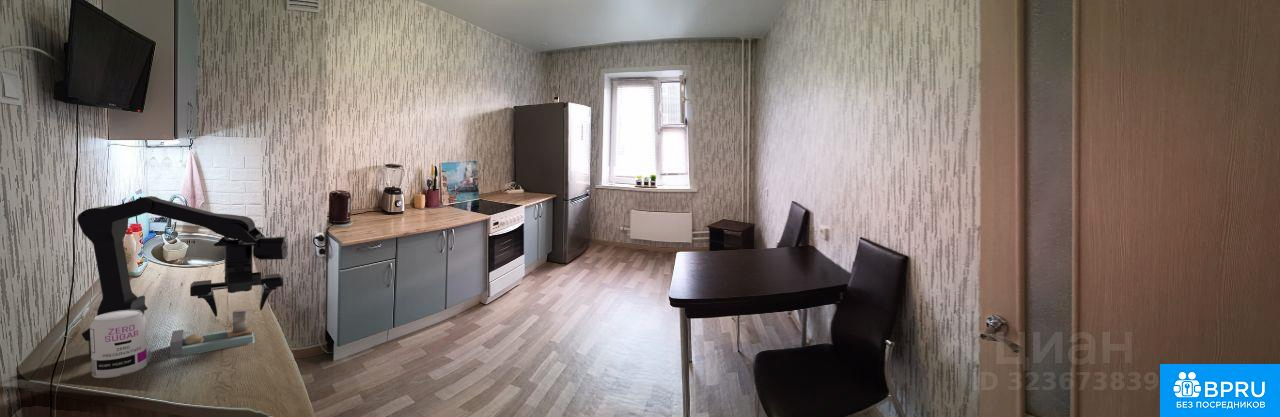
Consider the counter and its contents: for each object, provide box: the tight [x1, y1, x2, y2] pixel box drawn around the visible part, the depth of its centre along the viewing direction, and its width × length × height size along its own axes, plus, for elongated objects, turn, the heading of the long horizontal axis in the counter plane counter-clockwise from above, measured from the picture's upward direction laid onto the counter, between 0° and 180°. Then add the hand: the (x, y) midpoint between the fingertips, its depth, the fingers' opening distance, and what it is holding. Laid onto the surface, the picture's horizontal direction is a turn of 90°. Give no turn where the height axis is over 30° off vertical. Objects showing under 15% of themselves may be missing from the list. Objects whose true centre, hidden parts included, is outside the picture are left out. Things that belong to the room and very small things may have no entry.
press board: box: [170, 329, 256, 359], centre depth 114 cm, size 16×10×3 cm, turn 137°
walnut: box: [184, 333, 203, 346], centre depth 111 cm, size 4×4×4 cm
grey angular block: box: [169, 329, 185, 358], centre depth 109 cm, size 2×9×4 cm, turn 47°
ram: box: [226, 309, 253, 339], centre depth 117 cm, size 5×5×8 cm
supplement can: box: [89, 310, 148, 379], centre depth 98 cm, size 8×8×15 cm
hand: (239, 312), depth 117 cm, fingers open, 9 cm apart
